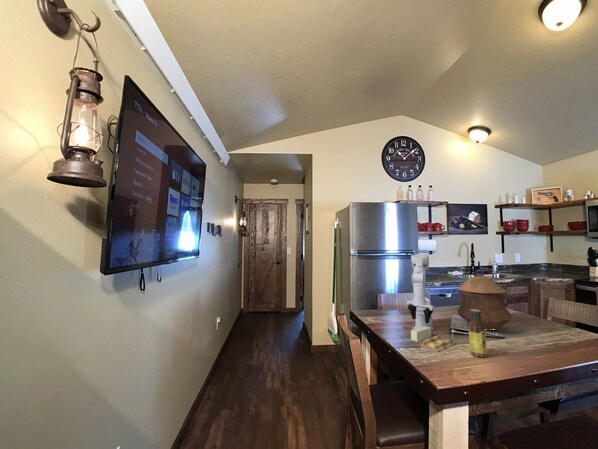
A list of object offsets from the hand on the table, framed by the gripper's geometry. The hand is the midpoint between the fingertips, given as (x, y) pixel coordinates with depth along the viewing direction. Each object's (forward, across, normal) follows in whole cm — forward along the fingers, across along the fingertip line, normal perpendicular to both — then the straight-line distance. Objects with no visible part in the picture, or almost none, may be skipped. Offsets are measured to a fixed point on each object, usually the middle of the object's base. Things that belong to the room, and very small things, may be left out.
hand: (420, 321), depth 138 cm
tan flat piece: (+9, +10, -2) cm, 14 cm away
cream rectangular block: (+9, 0, 0) cm, 9 cm away
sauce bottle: (+9, +26, +3) cm, 28 cm away
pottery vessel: (+9, +11, +43) cm, 45 cm away
